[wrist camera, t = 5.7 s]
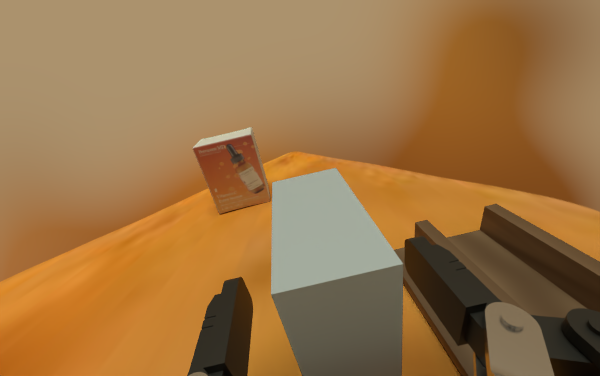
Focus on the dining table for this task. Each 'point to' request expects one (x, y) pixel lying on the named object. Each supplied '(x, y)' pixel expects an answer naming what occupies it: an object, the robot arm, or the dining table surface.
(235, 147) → the small box
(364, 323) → the grey rectangular block
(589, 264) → the rack
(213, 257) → the dining table surface
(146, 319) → the dining table surface
